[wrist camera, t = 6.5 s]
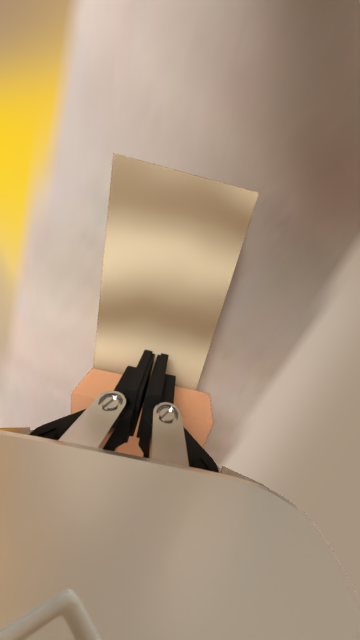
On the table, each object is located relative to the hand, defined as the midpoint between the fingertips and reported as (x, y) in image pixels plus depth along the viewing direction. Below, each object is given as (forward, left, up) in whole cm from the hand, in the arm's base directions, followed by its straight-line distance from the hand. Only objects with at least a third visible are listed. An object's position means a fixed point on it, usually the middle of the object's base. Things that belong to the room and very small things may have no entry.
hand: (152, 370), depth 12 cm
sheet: (-4, 0, -5) cm, 6 cm away
